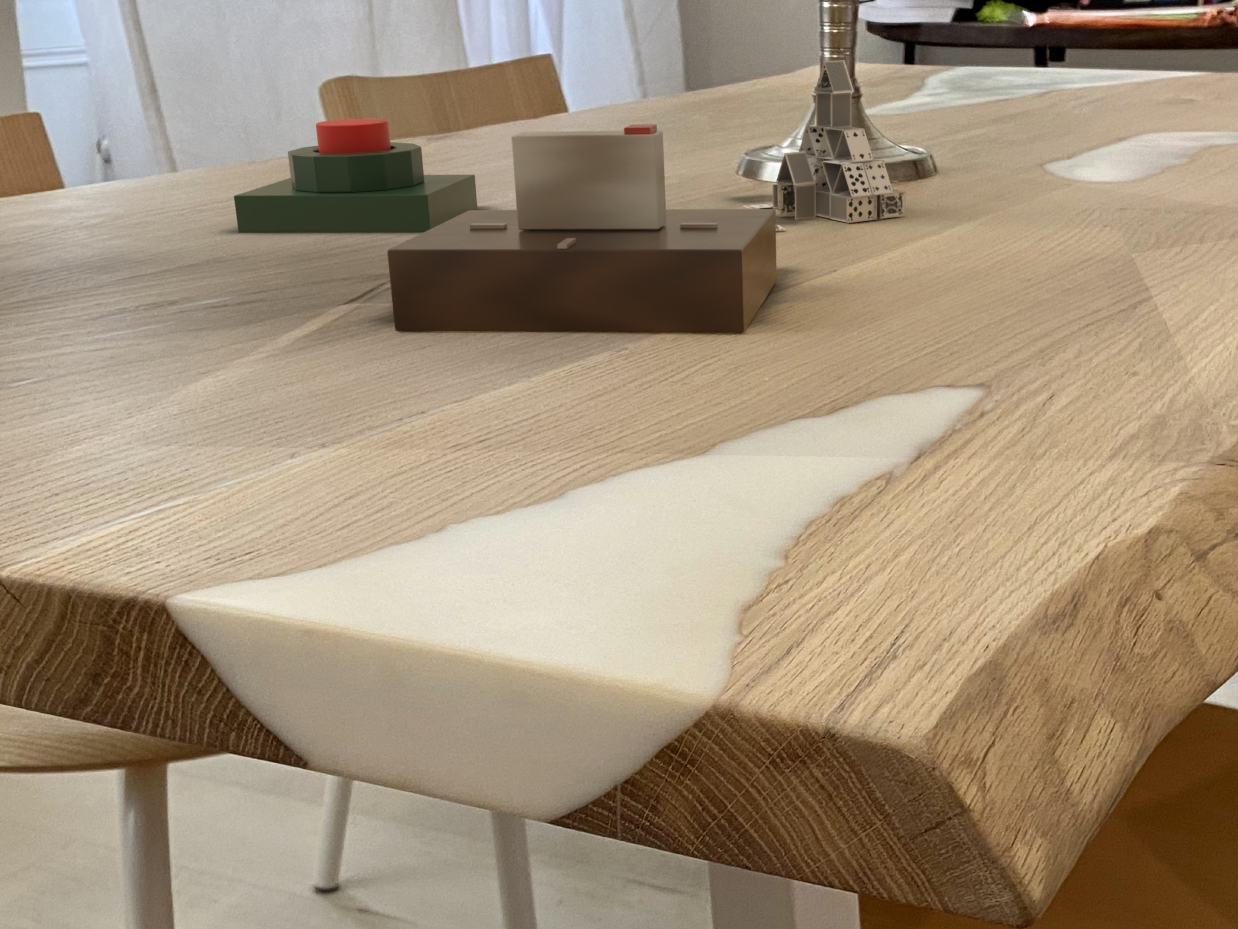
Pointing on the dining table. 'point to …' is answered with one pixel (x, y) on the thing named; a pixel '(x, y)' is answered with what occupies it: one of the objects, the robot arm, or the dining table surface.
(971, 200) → the dining table surface
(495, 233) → the brown slotted block
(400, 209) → the button block
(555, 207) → the beige block
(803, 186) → the house of cards
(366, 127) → the button
